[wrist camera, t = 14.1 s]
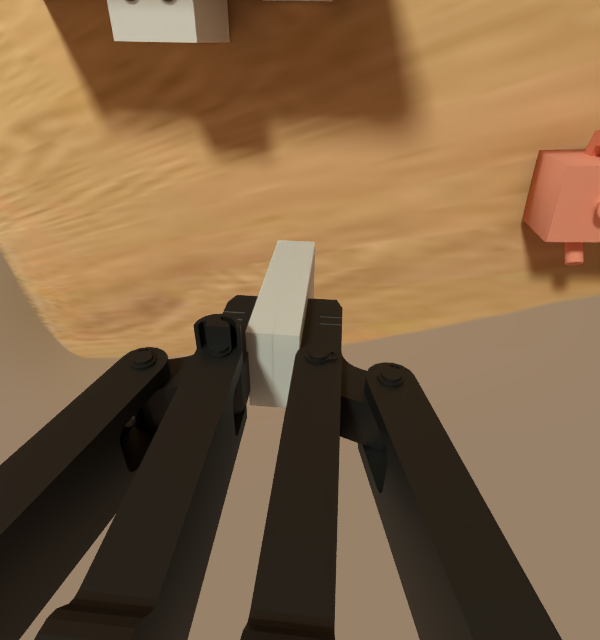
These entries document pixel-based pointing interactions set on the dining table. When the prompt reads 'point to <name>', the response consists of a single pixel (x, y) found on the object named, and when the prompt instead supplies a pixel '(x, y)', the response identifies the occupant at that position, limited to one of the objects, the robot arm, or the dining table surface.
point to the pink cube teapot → (566, 198)
